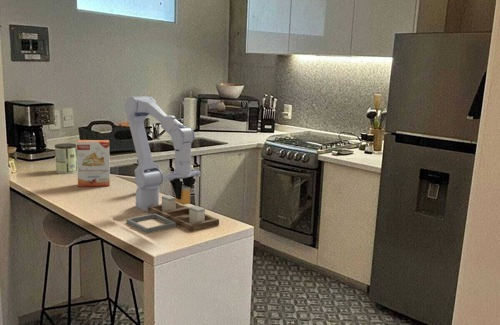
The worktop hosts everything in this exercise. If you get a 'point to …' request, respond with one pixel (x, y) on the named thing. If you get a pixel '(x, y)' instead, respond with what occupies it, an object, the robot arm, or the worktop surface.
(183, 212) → the holder
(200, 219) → the block
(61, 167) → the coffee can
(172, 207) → the block
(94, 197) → the worktop surface
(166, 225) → the tray
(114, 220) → the worktop surface
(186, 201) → the grey and orange block
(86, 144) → the cracker box
